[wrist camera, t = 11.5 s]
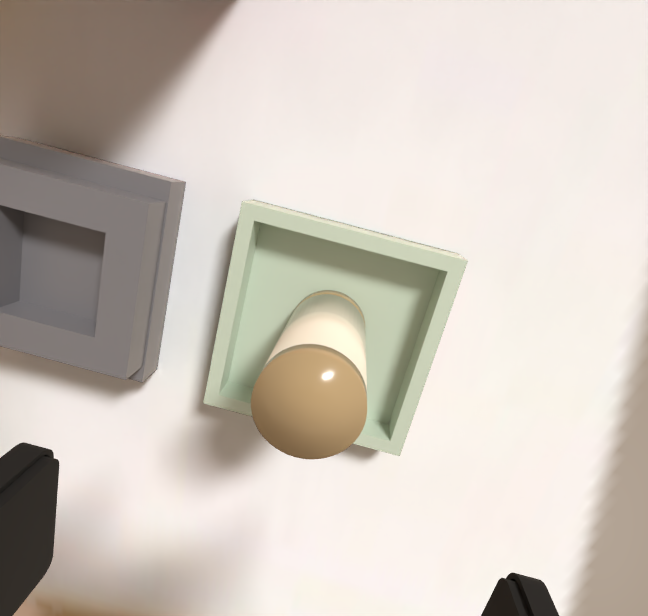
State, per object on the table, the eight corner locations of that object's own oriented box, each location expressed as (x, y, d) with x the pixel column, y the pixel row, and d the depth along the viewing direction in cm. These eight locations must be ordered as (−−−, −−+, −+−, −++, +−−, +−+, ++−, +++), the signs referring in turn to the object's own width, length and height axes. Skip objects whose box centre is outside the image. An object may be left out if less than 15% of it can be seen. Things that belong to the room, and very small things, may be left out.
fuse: (300, 281, 26) (263, 339, 16) (374, 301, 25) (381, 371, 16) (284, 349, 27) (240, 442, 17) (354, 368, 27) (349, 471, 17)
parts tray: (253, 199, 25) (241, 201, 23) (457, 253, 25) (467, 260, 23) (216, 384, 28) (203, 403, 26) (396, 433, 28) (399, 456, 26)
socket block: (16, 137, 25) (-46, 128, 21) (185, 181, 25) (154, 181, 21) (7, 328, 29) (-48, 351, 25) (157, 369, 29) (125, 397, 25)
